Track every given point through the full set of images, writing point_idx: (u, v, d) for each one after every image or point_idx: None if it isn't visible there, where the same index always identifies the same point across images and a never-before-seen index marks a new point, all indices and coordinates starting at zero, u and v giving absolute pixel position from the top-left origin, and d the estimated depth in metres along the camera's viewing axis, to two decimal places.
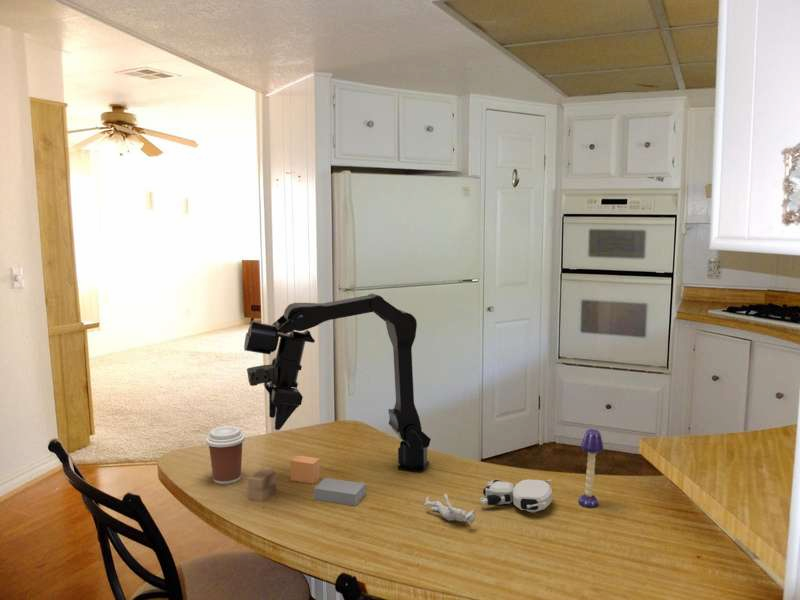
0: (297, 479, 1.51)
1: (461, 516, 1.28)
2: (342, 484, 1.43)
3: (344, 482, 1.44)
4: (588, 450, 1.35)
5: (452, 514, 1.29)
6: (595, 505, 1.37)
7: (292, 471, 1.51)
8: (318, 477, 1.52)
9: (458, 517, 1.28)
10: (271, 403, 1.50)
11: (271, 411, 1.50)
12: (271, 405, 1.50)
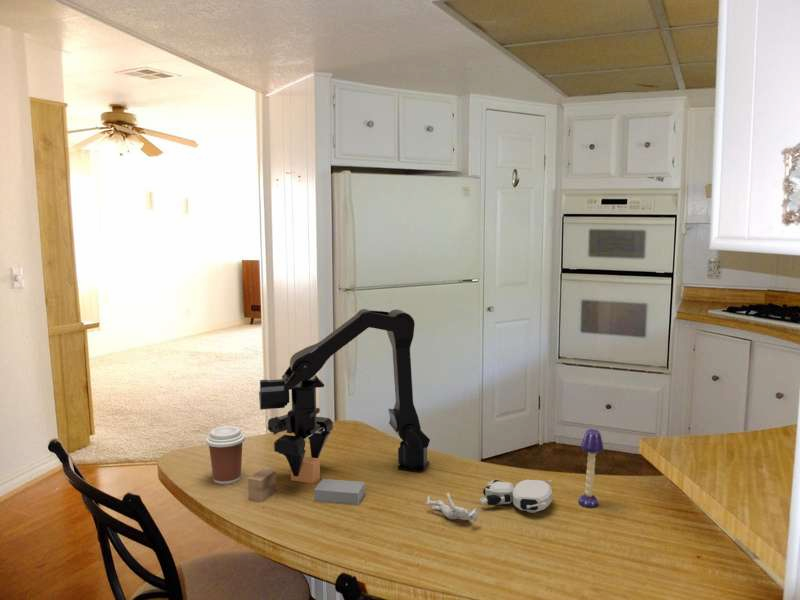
0: (297, 479, 1.51)
1: (464, 514, 1.29)
2: (342, 484, 1.43)
3: (343, 482, 1.44)
4: (588, 450, 1.35)
5: (455, 513, 1.30)
6: (595, 505, 1.37)
7: None
8: (318, 477, 1.52)
9: (461, 516, 1.29)
10: (311, 448, 1.56)
11: (312, 456, 1.56)
12: (311, 450, 1.56)
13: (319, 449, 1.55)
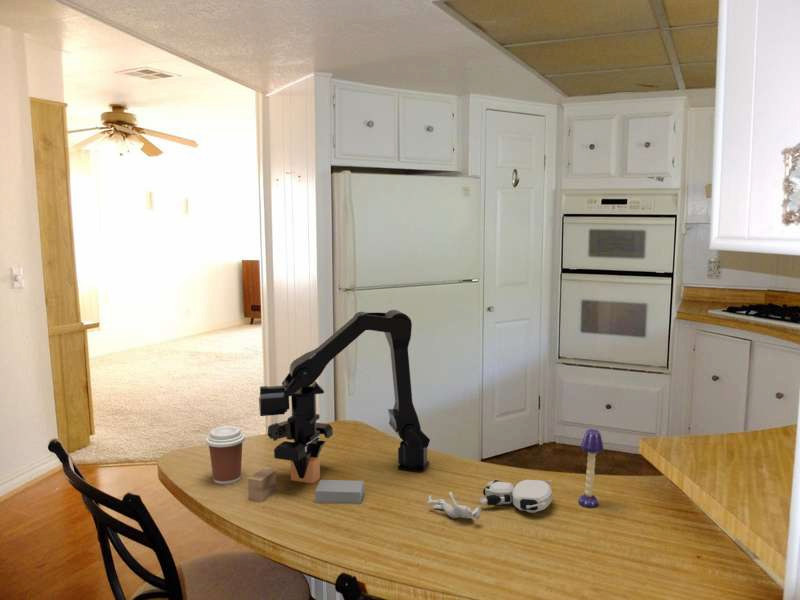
0: (297, 479, 1.51)
1: (467, 513, 1.29)
2: (341, 484, 1.43)
3: (342, 482, 1.44)
4: (588, 450, 1.35)
5: (457, 511, 1.31)
6: (595, 505, 1.37)
7: (292, 471, 1.51)
8: (318, 477, 1.52)
9: (464, 514, 1.30)
10: None
11: None
12: None
13: None
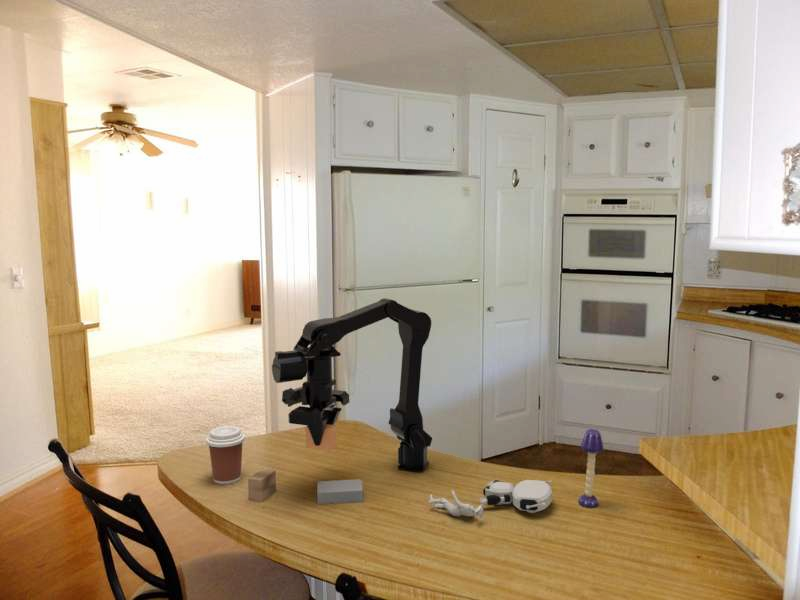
0: (312, 446, 1.45)
1: (470, 511, 1.30)
2: (340, 484, 1.43)
3: (340, 482, 1.44)
4: (588, 450, 1.35)
5: (460, 510, 1.31)
6: (595, 505, 1.37)
7: (307, 438, 1.45)
8: (334, 444, 1.46)
9: (467, 512, 1.30)
10: None
11: None
12: None
13: None
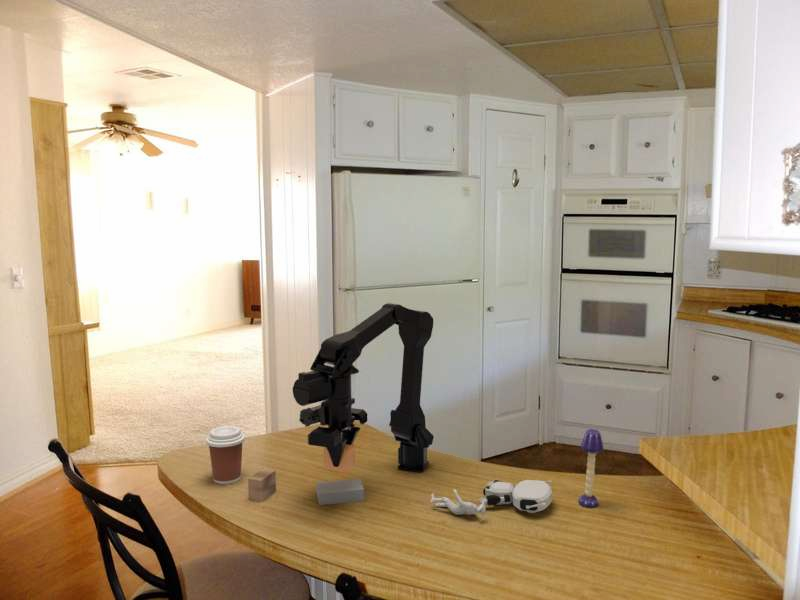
0: (331, 467, 1.40)
1: (472, 509, 1.31)
2: (340, 484, 1.43)
3: (339, 482, 1.44)
4: (588, 450, 1.35)
5: (462, 508, 1.32)
6: (595, 505, 1.37)
7: (325, 459, 1.41)
8: (353, 465, 1.41)
9: (469, 510, 1.31)
10: None
11: None
12: None
13: None
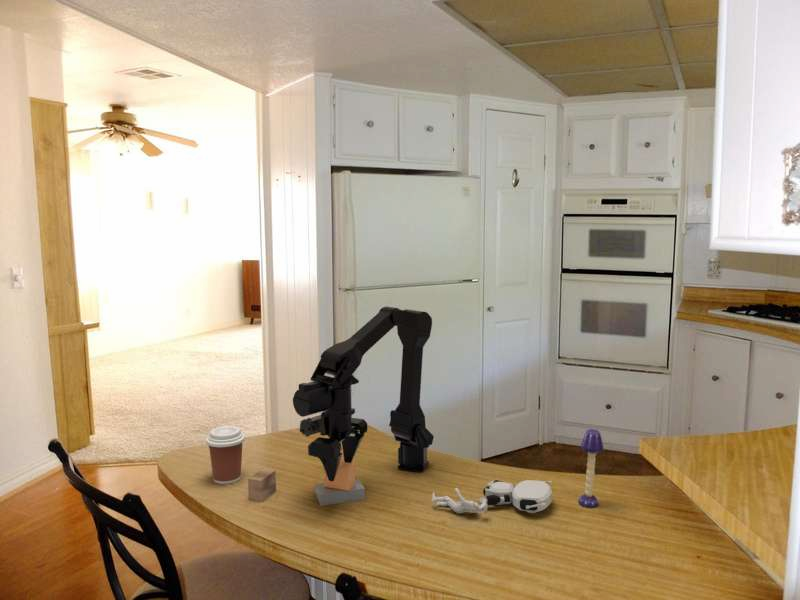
0: (331, 485, 1.41)
1: (474, 507, 1.32)
2: None
3: None
4: (588, 450, 1.35)
5: (464, 507, 1.33)
6: (595, 505, 1.37)
7: (326, 477, 1.41)
8: (353, 483, 1.42)
9: (471, 509, 1.32)
10: (344, 452, 1.45)
11: (345, 460, 1.45)
12: (344, 454, 1.45)
13: (353, 453, 1.45)
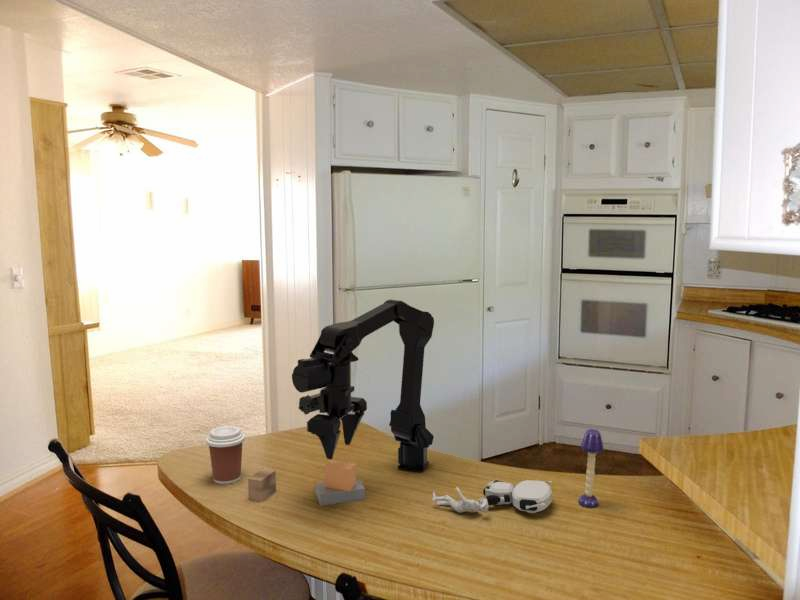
0: (332, 486, 1.41)
1: (475, 506, 1.32)
2: None
3: None
4: (588, 450, 1.35)
5: (465, 506, 1.33)
6: (595, 505, 1.37)
7: (326, 477, 1.41)
8: (354, 483, 1.42)
9: (472, 508, 1.32)
10: (344, 430, 1.45)
11: (345, 438, 1.45)
12: (344, 432, 1.45)
13: (353, 431, 1.44)
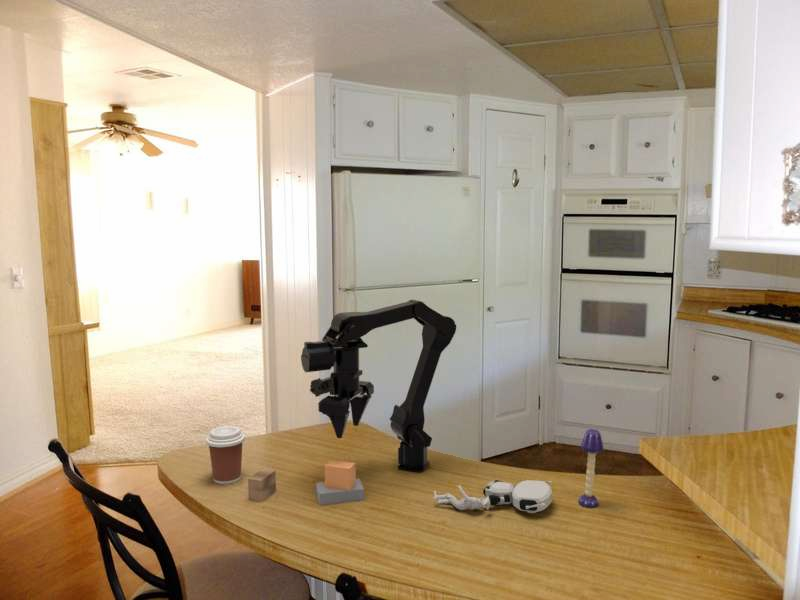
0: (332, 485, 1.41)
1: (477, 503, 1.33)
2: None
3: None
4: (588, 450, 1.35)
5: (467, 503, 1.34)
6: (595, 505, 1.37)
7: (326, 477, 1.41)
8: (354, 483, 1.42)
9: (474, 505, 1.33)
10: (352, 412, 1.54)
11: (354, 419, 1.54)
12: (353, 414, 1.54)
13: (361, 413, 1.53)
